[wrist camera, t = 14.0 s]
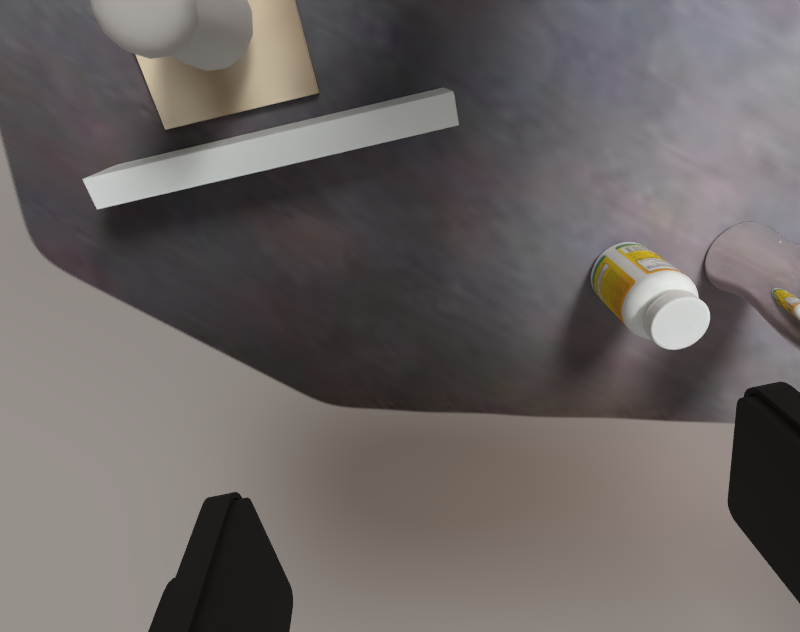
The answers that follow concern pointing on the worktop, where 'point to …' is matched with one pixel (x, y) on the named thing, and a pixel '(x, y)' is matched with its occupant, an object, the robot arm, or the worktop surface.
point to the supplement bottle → (650, 296)
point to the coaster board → (237, 72)
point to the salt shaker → (179, 29)
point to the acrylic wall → (274, 147)
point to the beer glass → (760, 273)
